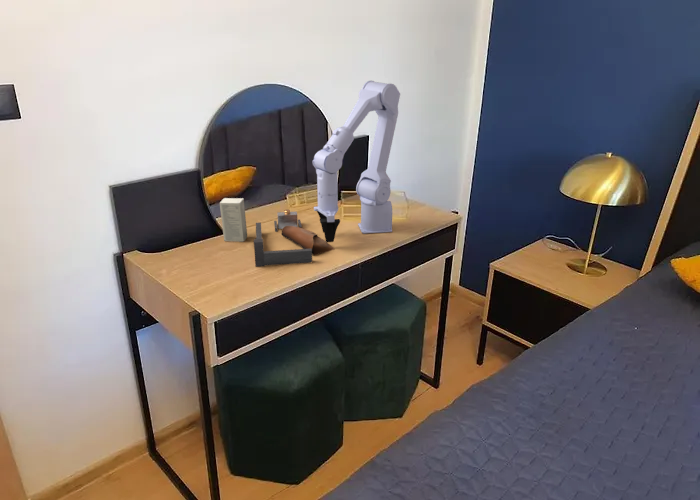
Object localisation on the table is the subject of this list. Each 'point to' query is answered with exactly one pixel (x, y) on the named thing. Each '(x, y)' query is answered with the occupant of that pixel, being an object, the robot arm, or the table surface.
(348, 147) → the robot arm
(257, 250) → the press frame
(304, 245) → the sunglasses case
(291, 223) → the silver metal block
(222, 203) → the skincare box
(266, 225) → the table surface
